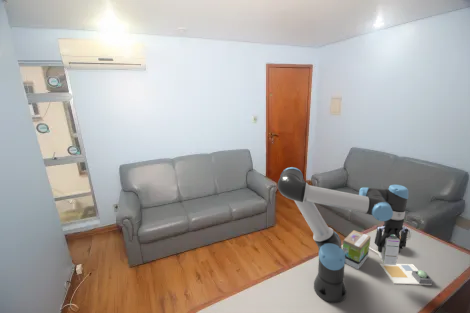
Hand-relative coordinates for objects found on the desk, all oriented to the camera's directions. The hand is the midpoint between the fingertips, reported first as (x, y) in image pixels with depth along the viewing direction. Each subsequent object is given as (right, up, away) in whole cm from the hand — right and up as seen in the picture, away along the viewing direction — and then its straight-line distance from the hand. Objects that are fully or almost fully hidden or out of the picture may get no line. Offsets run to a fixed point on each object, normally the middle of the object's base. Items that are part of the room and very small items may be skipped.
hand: (387, 257), depth 111 cm
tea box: (-5, -11, +21) cm, 24 cm away
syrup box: (0, -2, +1) cm, 2 cm away
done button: (+20, -12, +3) cm, 24 cm away
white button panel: (+15, -13, +8) cm, 21 cm away
